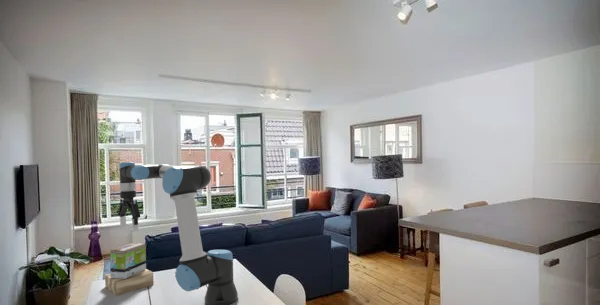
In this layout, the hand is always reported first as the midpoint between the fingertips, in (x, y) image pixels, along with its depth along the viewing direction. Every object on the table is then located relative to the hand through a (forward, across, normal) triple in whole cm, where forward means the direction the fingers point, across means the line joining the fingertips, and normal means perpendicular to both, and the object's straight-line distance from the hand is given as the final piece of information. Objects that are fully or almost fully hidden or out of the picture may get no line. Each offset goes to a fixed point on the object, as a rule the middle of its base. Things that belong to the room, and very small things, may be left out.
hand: (129, 229), depth 173 cm
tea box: (+24, 0, +1) cm, 24 cm away
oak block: (+31, +1, 0) cm, 31 cm away
